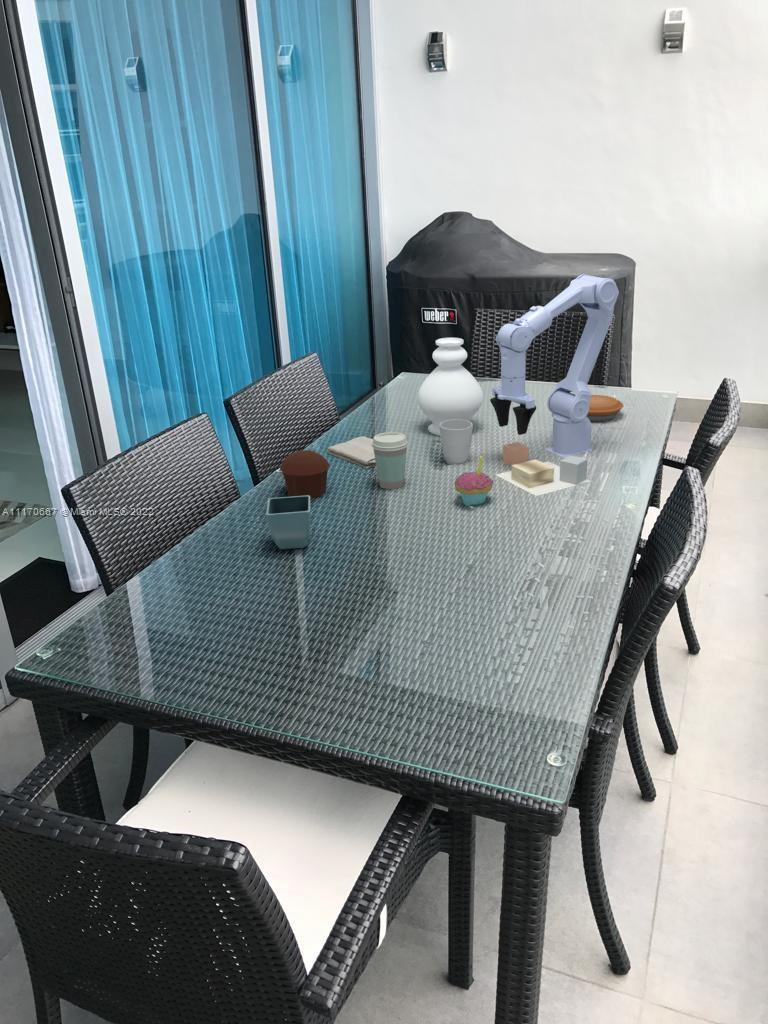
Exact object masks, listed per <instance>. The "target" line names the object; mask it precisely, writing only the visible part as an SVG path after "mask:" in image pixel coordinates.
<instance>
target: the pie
mask: <svg viewBox="0 0 768 1024" xmlns="http://www.w3.org/2000/svg"><path fill="white" fill-rule="evenodd" d="M591 395H592V396H591V399H590V406H589V412H588V414H587V416H586V417H587V418H588V419H589V420H590V423H591V422H592V423H593V422H594V423H603V422H608V421H612V420H614V418H616V416H617V415H618V413H619V412H620V411H621V410H622V409H623V408H624V403H623V402H621V401H622V400H621V401H620V400H619V399H617V398H616V397H612V396H608V395H601V394H591Z"/></svg>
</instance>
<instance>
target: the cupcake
mask: <svg viewBox="0 0 768 1024" xmlns="http://www.w3.org/2000/svg"><path fill="white" fill-rule="evenodd" d="M483 455H484V453H481V455H480V456H479V460H478V465H477V471H476V470H475V471H468V472H463V473H461V474H460V475H458V476H457V478H455V481H454V489H455V491H456V492H458V493H459V494H460V496H461V497H460V498H461V499H462V503H463V505H465V506H468V507H472V506H473V505H474V506H475V505H481V504H483V503H485V501H486V499H487V496H488V493H489V492H491V491H492V489H493V485H494V480H493V479H492V478H491V477H490V476H489V475H487V474H486V473H484V472H481V470H482V465H483V458H484V457H483Z"/></svg>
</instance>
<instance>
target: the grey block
mask: <svg viewBox="0 0 768 1024" xmlns="http://www.w3.org/2000/svg"><path fill="white" fill-rule="evenodd" d="M559 461H560V462H559V467H560V481H563V482H567V483H571V484H575V485H576V486H578V485H577V484H579V483H580V482H582V481H584V480H585V479H587V476H588V475H587V472H588V458H585V457H584V458H583V457H579V456H576V455H570V456H568V457H563V459H561V460H559ZM579 485H580V484H579Z"/></svg>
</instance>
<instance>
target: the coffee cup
mask: <svg viewBox="0 0 768 1024" xmlns="http://www.w3.org/2000/svg"><path fill="white" fill-rule="evenodd" d="M406 437H407V436H406V435H405V434H404V433H401V432H398V431H397V432H396V431H391V432H390V431H387V432H381V433H377V434H375V435H374V436H373V438H372V439H373V442H372V447H373V449H374V455H375V461H376V467H375V468H376V471H377V478H378V483H379V484H378V485H379V486H380V487H381V488H382V489H385V490H386V489H387V490H395V489H397V490H398V489H400V488H402V487H404V484H405V473H406V463H407V462H406V461H407V450H408V449H407V448H408V446H409V443H408V440H407V438H406Z"/></svg>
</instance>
